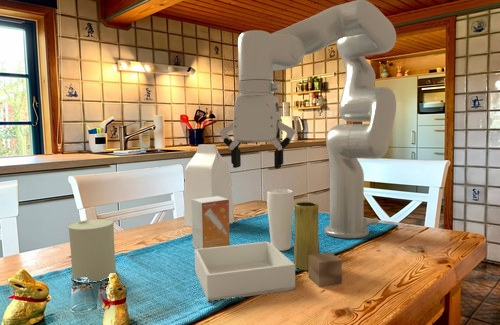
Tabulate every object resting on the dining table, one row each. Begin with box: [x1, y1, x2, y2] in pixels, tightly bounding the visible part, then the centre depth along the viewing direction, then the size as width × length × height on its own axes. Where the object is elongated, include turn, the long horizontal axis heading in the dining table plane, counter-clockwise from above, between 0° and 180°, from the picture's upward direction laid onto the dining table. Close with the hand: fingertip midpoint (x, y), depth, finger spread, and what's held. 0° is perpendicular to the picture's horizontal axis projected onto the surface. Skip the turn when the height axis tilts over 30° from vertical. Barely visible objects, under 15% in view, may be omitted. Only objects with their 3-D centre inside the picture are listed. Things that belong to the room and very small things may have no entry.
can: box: [68, 218, 117, 282], centre depth 87 cm, size 9×9×12 cm
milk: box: [183, 144, 235, 228], centre depth 129 cm, size 12×12×26 cm
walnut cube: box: [308, 252, 343, 288], centre depth 81 cm, size 5×5×5 cm
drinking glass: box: [266, 188, 295, 252], centre depth 103 cm, size 7×7×15 cm
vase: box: [293, 201, 321, 271], centre depth 90 cm, size 6×6×14 cm
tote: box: [194, 241, 296, 303], centre depth 83 cm, size 17×16×5 cm
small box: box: [191, 196, 231, 249], centre depth 105 cm, size 8×6×13 cm
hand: (257, 167), depth 89 cm, fingers open, 9 cm apart
